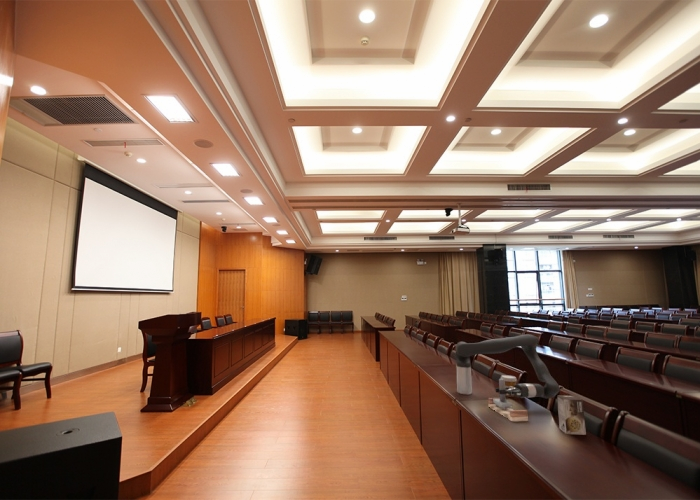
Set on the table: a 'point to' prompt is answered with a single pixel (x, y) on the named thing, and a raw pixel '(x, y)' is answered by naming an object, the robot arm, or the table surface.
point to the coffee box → (571, 414)
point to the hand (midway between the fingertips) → (497, 391)
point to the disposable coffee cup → (509, 381)
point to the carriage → (502, 397)
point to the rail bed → (506, 414)
